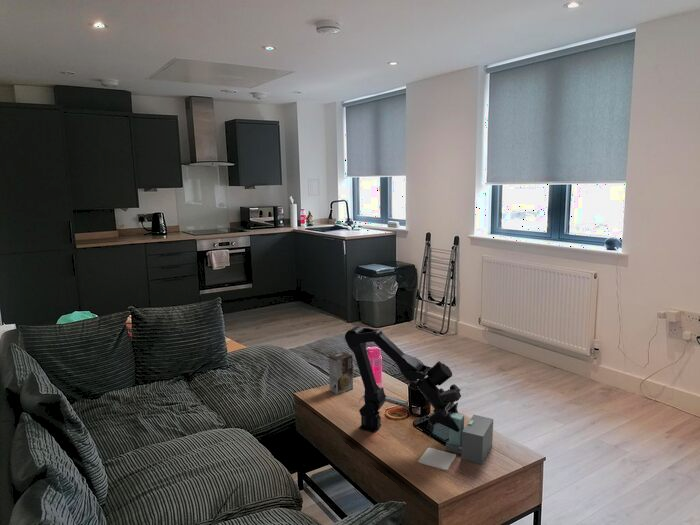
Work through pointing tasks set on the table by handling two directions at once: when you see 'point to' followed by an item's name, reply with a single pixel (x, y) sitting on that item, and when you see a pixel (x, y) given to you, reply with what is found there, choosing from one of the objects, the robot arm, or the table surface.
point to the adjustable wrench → (396, 400)
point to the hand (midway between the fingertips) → (460, 428)
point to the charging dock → (475, 440)
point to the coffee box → (340, 372)
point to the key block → (454, 436)
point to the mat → (437, 458)
